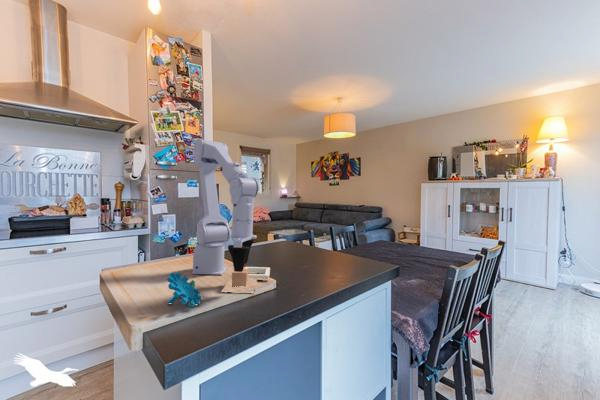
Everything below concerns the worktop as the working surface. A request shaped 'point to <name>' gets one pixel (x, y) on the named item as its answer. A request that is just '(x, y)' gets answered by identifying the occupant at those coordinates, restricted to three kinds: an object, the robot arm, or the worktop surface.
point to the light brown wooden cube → (240, 278)
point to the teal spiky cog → (183, 289)
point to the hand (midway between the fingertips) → (241, 267)
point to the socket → (262, 271)
